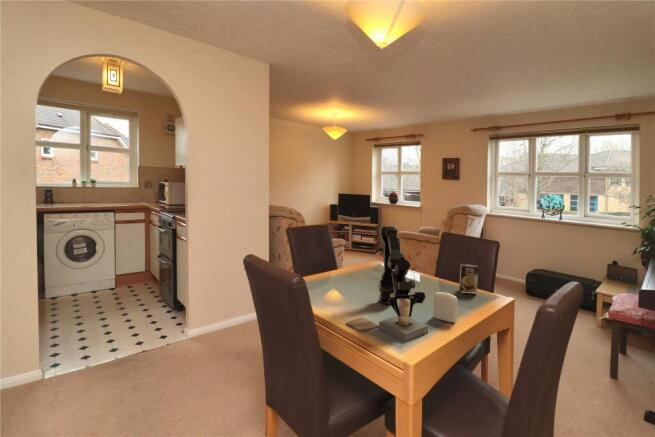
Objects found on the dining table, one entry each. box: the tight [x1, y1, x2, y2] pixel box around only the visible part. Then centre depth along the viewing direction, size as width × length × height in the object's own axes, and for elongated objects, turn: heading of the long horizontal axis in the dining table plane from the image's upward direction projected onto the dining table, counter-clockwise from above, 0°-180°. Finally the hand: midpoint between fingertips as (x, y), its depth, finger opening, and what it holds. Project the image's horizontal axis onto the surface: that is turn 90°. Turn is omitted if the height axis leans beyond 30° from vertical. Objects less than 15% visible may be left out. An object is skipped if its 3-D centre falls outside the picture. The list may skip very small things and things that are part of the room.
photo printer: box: [433, 291, 458, 323], centre depth 152 cm, size 10×4×12 cm, turn 47°
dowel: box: [398, 298, 410, 327], centre depth 138 cm, size 4×4×13 cm
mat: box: [345, 317, 379, 333], centre depth 143 cm, size 10×10×1 cm
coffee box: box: [458, 263, 479, 293], centre depth 193 cm, size 9×6×16 cm
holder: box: [378, 315, 429, 342], centre depth 139 cm, size 14×14×3 cm
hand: (404, 316), depth 137 cm, fingers closed on dowel, 4 cm apart
